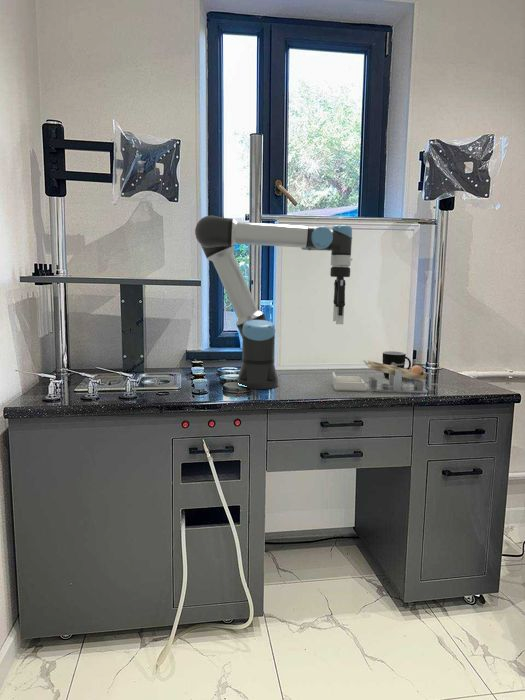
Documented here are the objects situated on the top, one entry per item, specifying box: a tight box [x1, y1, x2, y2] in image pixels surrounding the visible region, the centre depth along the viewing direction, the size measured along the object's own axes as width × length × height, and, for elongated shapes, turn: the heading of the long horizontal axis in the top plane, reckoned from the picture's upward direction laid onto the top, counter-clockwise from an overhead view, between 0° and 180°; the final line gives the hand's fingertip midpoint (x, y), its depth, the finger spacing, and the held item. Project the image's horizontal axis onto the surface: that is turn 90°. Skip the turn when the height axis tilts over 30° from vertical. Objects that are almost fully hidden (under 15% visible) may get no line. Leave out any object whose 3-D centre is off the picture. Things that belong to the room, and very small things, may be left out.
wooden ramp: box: [363, 359, 428, 383], centre depth 189 cm, size 20×16×4 cm
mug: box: [382, 350, 412, 379], centre depth 206 cm, size 12×9×10 cm
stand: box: [365, 365, 429, 394], centre depth 185 cm, size 21×11×8 cm, turn 87°
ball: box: [410, 364, 424, 375], centre depth 184 cm, size 4×4×4 cm
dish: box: [331, 371, 368, 392], centre depth 186 cm, size 11×11×4 cm
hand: (337, 322), depth 199 cm, fingers open, 12 cm apart
